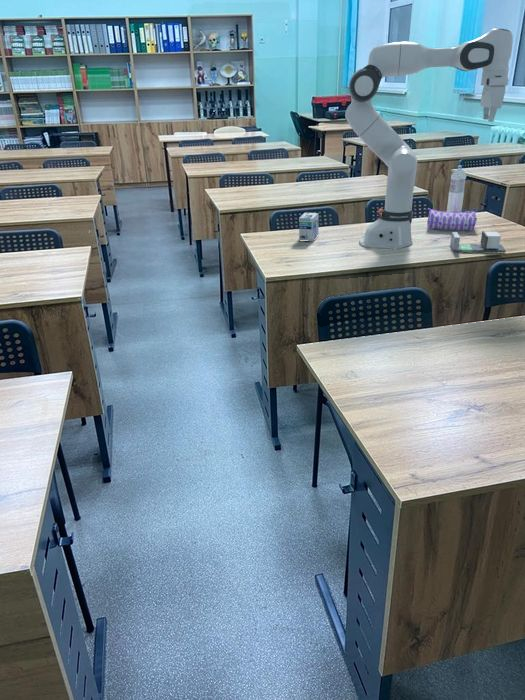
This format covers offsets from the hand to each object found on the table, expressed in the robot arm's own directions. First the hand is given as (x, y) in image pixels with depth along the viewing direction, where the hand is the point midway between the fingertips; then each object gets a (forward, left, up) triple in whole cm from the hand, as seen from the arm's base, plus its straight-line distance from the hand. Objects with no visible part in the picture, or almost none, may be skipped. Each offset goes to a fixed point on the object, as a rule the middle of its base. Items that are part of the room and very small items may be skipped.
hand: (488, 120), depth 199 cm
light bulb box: (-69, +5, -48) cm, 84 cm away
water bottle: (-1, +42, -48) cm, 64 cm away
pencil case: (-5, +22, -48) cm, 53 cm away
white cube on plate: (+6, -9, -46) cm, 48 cm away
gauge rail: (+1, -9, -48) cm, 49 cm away
